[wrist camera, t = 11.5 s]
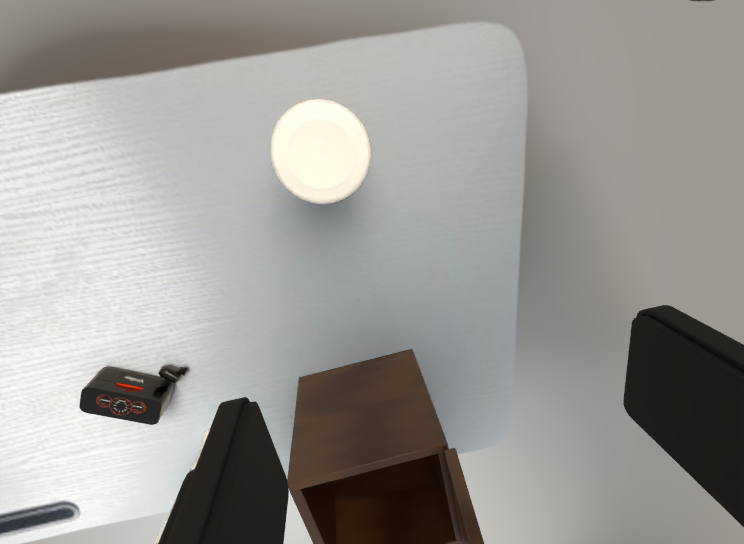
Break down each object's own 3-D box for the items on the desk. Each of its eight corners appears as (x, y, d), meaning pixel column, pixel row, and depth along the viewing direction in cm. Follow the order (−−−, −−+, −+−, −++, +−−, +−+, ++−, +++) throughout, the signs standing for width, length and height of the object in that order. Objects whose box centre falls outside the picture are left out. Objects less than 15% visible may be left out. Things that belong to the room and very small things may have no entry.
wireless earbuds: (180, 402, 36) (166, 427, 33) (100, 386, 35) (78, 411, 32) (189, 364, 35) (176, 387, 32) (106, 345, 33) (84, 367, 30)
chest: (329, 459, 41) (329, 580, 30) (298, 377, 37) (286, 484, 26) (430, 433, 41) (466, 544, 30) (412, 348, 37) (447, 443, 26)
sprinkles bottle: (363, 126, 29) (389, 128, 16) (340, 181, 30) (348, 221, 18) (307, 98, 28) (290, 77, 15) (286, 156, 29) (253, 181, 16)
